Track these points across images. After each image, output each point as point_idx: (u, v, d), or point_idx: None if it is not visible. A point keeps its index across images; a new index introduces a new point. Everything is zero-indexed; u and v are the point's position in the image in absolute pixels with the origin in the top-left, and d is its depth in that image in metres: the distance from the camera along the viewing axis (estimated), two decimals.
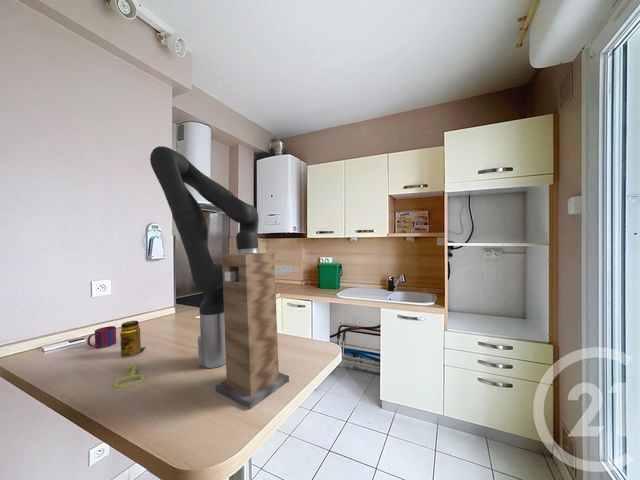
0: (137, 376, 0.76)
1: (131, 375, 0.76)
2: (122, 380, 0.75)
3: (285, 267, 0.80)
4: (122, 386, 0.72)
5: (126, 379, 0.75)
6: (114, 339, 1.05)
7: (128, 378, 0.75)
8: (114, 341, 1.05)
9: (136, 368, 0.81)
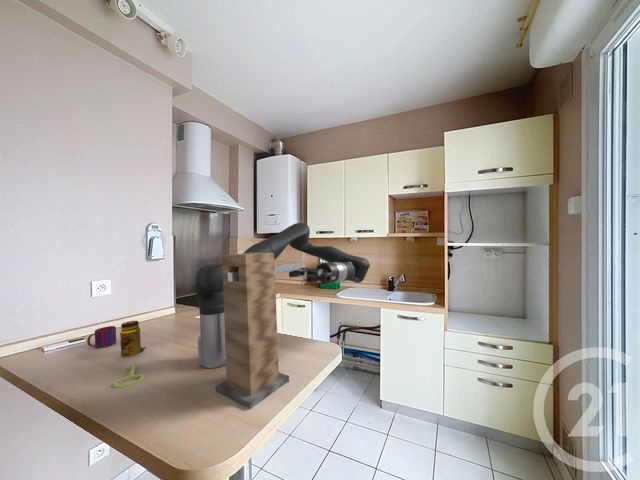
0: (136, 375, 0.76)
1: (130, 375, 0.76)
2: (121, 380, 0.75)
3: (292, 264, 0.80)
4: (122, 386, 0.72)
5: (125, 379, 0.75)
6: (114, 339, 1.05)
7: (127, 378, 0.76)
8: (114, 341, 1.05)
9: (135, 368, 0.81)
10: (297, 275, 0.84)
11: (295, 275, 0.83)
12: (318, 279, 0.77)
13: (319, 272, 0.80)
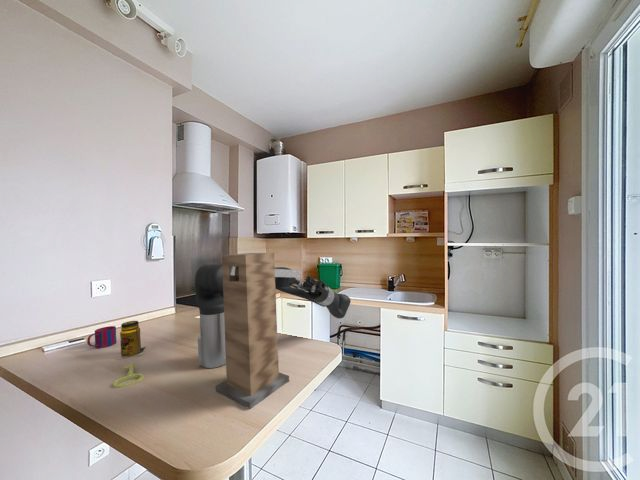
0: (136, 375, 0.77)
1: (129, 375, 0.77)
2: (121, 380, 0.75)
3: (293, 271, 0.81)
4: (122, 385, 0.72)
5: (125, 379, 0.75)
6: (114, 339, 1.05)
7: (127, 378, 0.76)
8: (114, 341, 1.05)
9: (133, 368, 0.81)
10: (293, 282, 0.91)
11: (292, 281, 0.91)
12: (315, 283, 0.86)
13: None
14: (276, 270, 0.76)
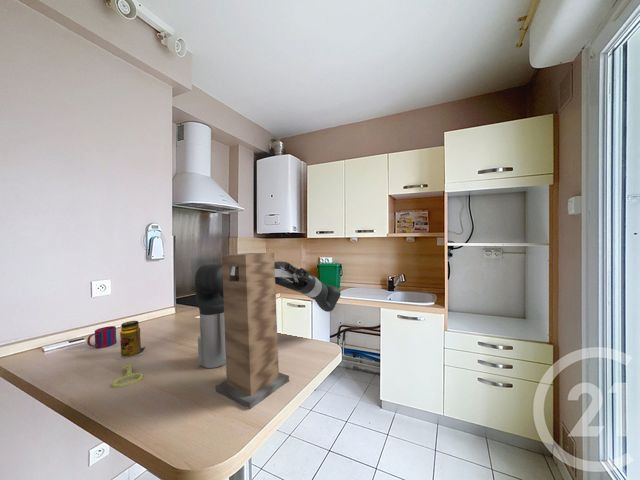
0: (135, 375, 0.77)
1: (128, 374, 0.77)
2: (120, 380, 0.75)
3: None
4: (122, 385, 0.72)
5: (124, 378, 0.76)
6: (114, 339, 1.05)
7: (126, 377, 0.76)
8: (114, 341, 1.05)
9: (131, 368, 0.81)
10: None
11: None
12: (295, 271, 0.80)
13: None
14: (276, 270, 0.76)
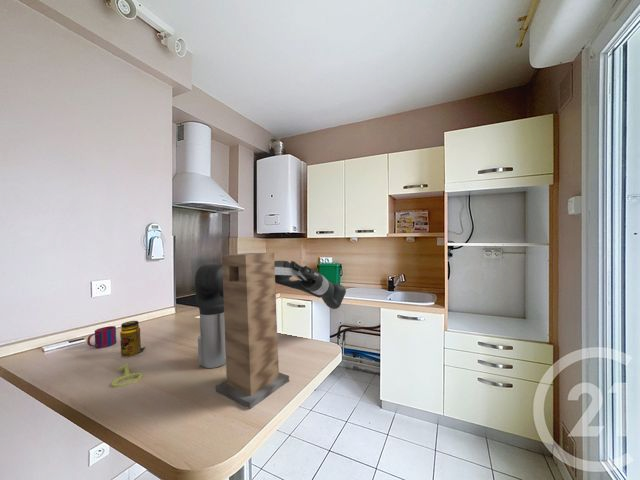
0: (134, 374, 0.77)
1: (127, 374, 0.77)
2: (118, 380, 0.75)
3: None
4: (122, 385, 0.73)
5: (122, 379, 0.76)
6: (114, 339, 1.05)
7: (124, 377, 0.76)
8: (114, 341, 1.05)
9: (128, 368, 0.81)
10: None
11: (288, 267, 0.85)
12: (299, 268, 0.84)
13: None
14: (285, 269, 0.80)
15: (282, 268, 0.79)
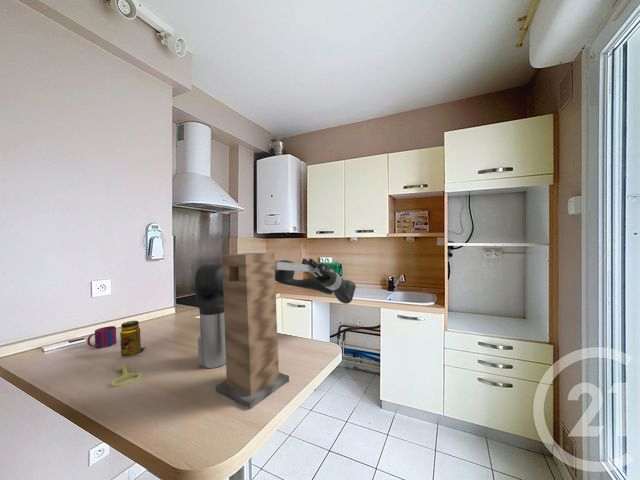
0: (133, 374, 0.77)
1: (126, 374, 0.77)
2: (117, 380, 0.75)
3: None
4: (121, 384, 0.73)
5: (121, 378, 0.76)
6: (114, 339, 1.05)
7: (123, 377, 0.76)
8: (114, 341, 1.05)
9: (126, 368, 0.81)
10: None
11: (306, 264, 0.93)
12: (316, 265, 0.93)
13: None
14: (304, 265, 0.89)
15: (302, 265, 0.88)
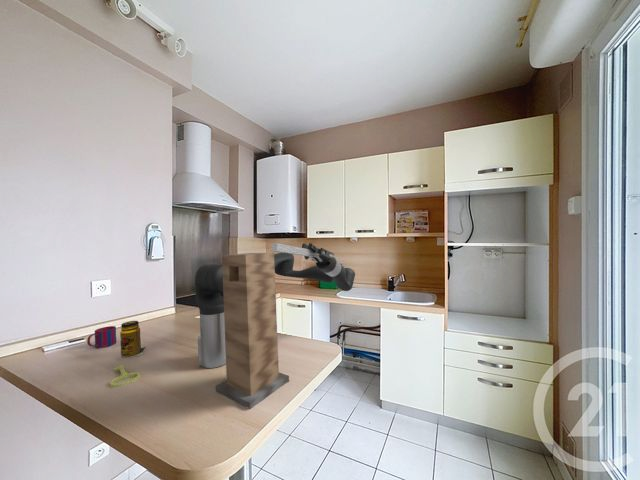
0: (131, 374, 0.77)
1: (124, 374, 0.77)
2: (116, 380, 0.75)
3: None
4: (121, 384, 0.73)
5: (120, 378, 0.76)
6: (114, 339, 1.05)
7: (122, 377, 0.76)
8: (114, 341, 1.05)
9: (124, 369, 0.80)
10: None
11: None
12: (316, 250, 0.93)
13: None
14: (304, 249, 0.89)
15: (301, 248, 0.88)
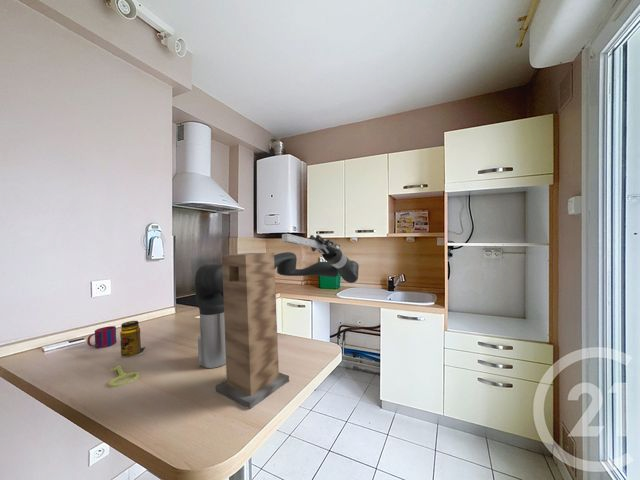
0: (130, 374, 0.78)
1: (123, 374, 0.77)
2: (115, 380, 0.75)
3: None
4: (121, 384, 0.73)
5: (119, 379, 0.76)
6: (114, 339, 1.05)
7: (121, 377, 0.76)
8: (114, 341, 1.05)
9: None
10: None
11: None
12: (323, 242, 0.97)
13: None
14: (312, 241, 0.93)
15: (310, 240, 0.92)
